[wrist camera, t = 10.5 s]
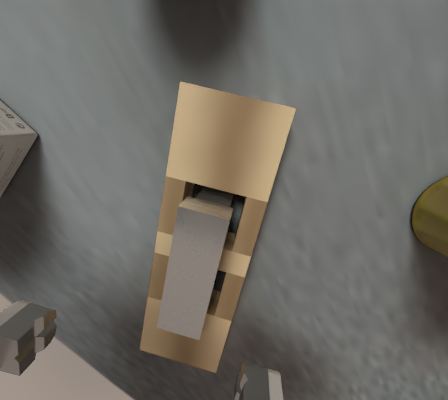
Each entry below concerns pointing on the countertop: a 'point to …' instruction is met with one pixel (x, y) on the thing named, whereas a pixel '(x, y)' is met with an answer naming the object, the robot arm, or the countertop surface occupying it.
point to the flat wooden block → (222, 180)
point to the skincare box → (12, 144)
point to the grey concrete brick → (194, 261)
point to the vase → (433, 217)
